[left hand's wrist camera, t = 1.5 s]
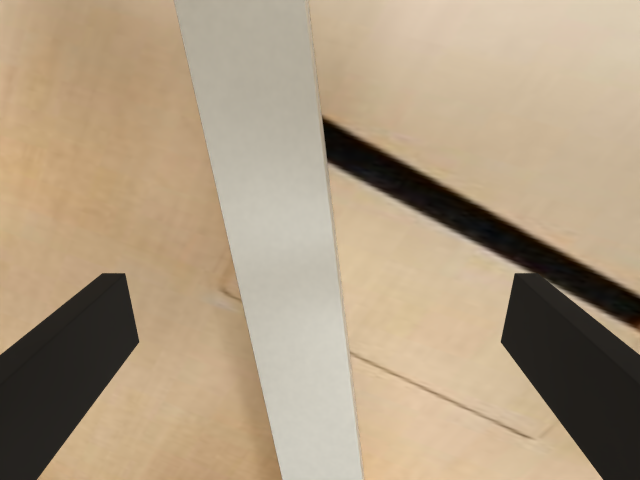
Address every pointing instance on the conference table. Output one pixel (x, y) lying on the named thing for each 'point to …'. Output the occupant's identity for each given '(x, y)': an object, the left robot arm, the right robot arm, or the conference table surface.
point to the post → (278, 220)
